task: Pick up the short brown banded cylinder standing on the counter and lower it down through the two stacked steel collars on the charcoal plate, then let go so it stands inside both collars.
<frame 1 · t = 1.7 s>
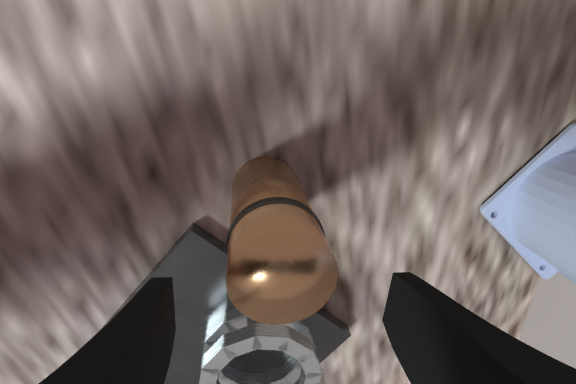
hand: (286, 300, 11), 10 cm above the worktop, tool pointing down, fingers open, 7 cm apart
collar stand: (258, 333, 24), on the worktop
brown banded cylinder: (265, 189, 20), on the worktop
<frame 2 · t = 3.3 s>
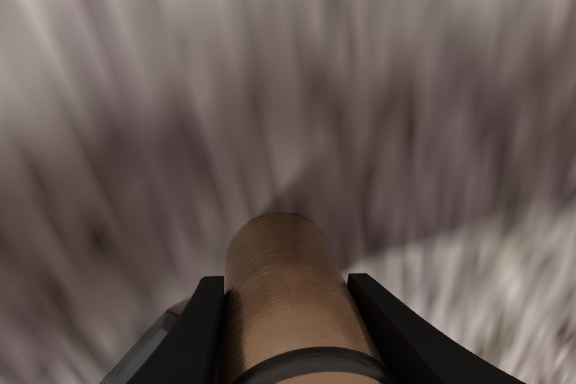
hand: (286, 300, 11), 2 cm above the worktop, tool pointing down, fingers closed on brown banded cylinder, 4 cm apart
brown banded cylinder: (278, 258, 13), on the worktop, touching gripper
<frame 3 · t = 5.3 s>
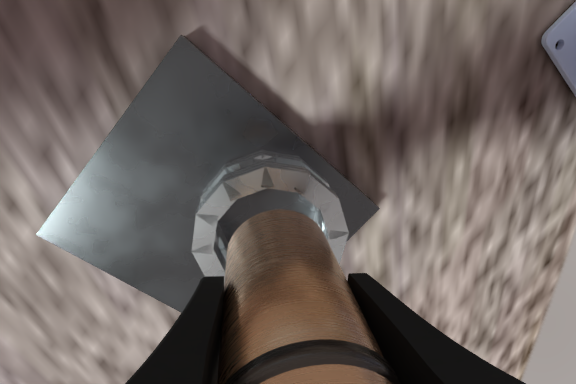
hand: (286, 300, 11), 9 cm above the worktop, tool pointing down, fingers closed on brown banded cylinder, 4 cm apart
collar stand: (266, 208, 20), on the worktop
brown banded cylinder: (278, 255, 13), point 7 cm above the worktop, touching gripper
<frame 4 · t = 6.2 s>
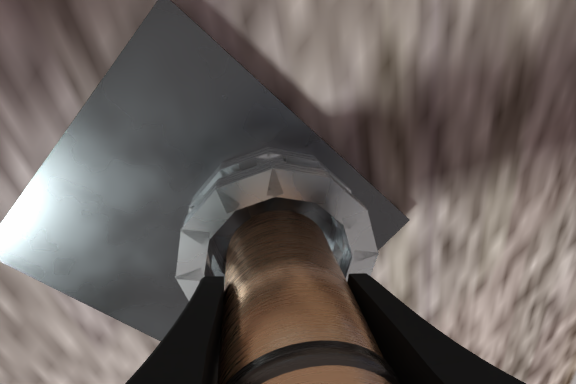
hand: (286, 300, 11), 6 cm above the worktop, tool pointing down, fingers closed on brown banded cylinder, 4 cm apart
collar stand: (271, 218, 16), on the worktop
brown banded cylinder: (278, 256, 13), point 3 cm above the worktop, touching gripper
when the fingers open (5 cm above the worktop, at t = 7.2 s): brown banded cylinder drops 2 cm, resting on collar stand.
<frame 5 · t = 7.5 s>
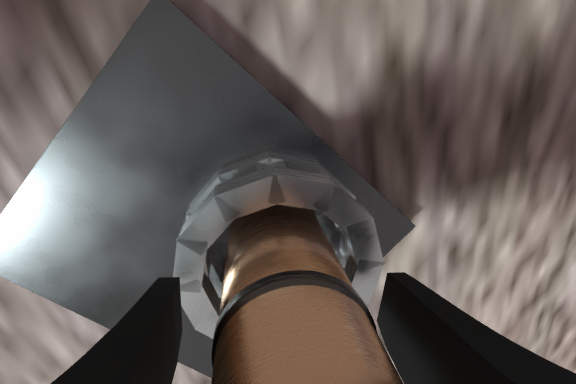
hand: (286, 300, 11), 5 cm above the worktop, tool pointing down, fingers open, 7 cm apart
collar stand: (271, 224, 16), on the worktop
brown banded cylinder: (274, 234, 14), point 1 cm above the worktop, touching collar stand
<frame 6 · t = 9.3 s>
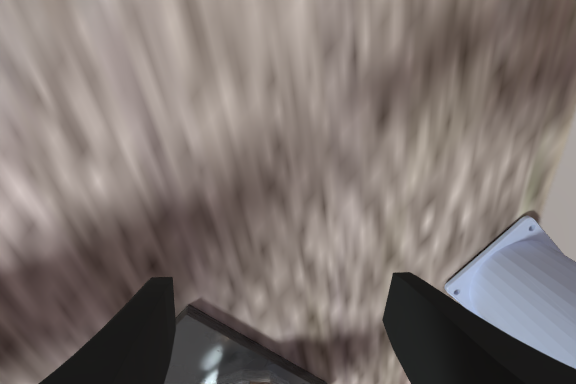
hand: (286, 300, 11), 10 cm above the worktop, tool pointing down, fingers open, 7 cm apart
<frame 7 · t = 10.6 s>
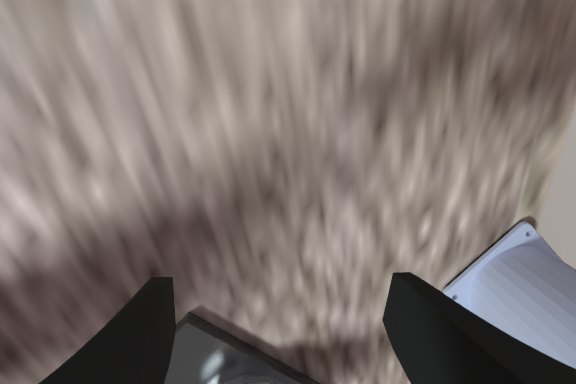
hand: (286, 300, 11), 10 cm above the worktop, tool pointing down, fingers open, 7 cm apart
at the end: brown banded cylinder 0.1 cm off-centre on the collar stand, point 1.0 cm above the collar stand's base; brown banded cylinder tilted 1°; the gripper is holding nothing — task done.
